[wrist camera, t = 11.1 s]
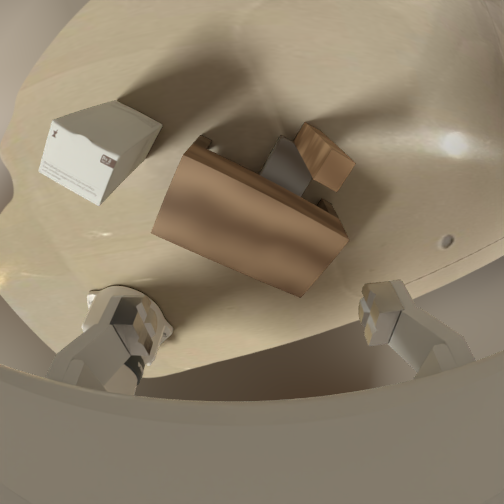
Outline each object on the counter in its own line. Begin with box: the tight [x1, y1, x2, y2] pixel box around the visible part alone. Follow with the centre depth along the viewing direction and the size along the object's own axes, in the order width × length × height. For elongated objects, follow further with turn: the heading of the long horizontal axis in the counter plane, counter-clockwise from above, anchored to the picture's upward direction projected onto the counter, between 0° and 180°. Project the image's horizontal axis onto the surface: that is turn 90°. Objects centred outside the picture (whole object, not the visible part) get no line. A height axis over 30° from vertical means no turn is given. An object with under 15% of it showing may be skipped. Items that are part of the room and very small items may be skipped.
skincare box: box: [39, 100, 163, 206], centre depth 27 cm, size 8×6×15 cm
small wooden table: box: [151, 135, 349, 298], centre depth 35 cm, size 10×20×10 cm, turn 62°
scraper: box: [259, 122, 356, 197], centre depth 32 cm, size 18×6×14 cm, turn 154°
